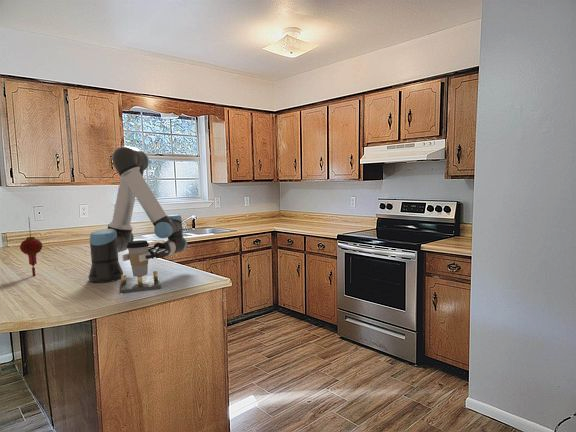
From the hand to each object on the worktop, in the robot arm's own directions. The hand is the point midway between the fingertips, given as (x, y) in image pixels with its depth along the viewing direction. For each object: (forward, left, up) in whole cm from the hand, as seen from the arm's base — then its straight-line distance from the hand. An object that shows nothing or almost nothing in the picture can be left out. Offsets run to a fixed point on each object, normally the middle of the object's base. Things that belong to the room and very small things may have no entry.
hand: (131, 258), depth 163 cm
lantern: (-50, -47, -13) cm, 70 cm away
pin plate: (-4, +3, -13) cm, 14 cm away
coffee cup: (-4, +3, -9) cm, 10 cm away
